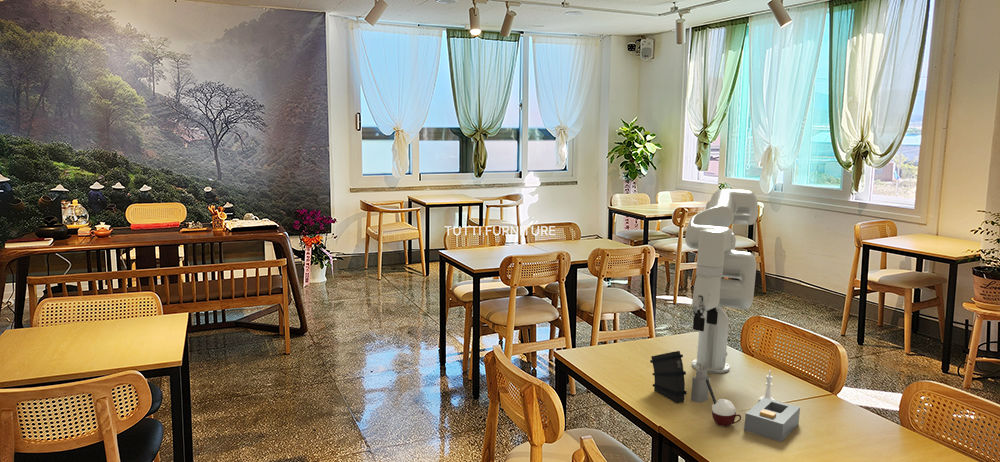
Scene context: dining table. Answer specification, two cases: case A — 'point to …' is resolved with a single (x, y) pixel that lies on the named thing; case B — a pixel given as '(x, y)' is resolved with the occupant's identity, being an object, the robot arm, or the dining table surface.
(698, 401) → the power adapter
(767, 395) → the chess piece
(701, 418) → the dining table surface
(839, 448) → the dining table surface
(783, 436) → the socket block
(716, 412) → the cocoa
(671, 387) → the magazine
